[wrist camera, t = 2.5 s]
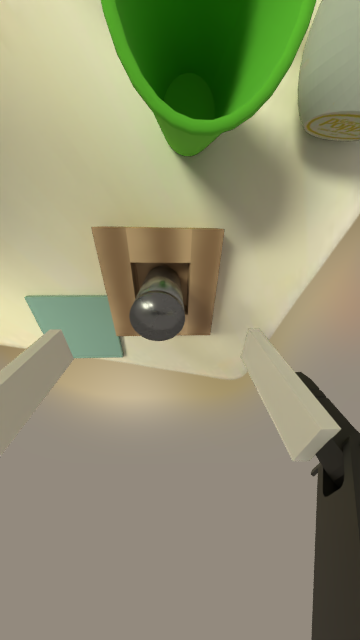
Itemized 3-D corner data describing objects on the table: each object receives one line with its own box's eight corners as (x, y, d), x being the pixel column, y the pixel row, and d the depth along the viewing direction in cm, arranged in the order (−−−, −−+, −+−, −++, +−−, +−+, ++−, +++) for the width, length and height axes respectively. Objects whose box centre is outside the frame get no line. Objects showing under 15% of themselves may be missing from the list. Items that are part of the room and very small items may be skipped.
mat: (57, 356, 30) (55, 358, 29) (27, 295, 24) (24, 297, 23) (123, 354, 30) (122, 357, 30) (110, 295, 24) (109, 297, 24)
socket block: (122, 323, 27) (116, 336, 24) (103, 226, 20) (91, 227, 17) (205, 322, 27) (210, 334, 24) (216, 228, 20) (224, 229, 17)
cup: (120, 111, 15) (33, -78, 6) (196, -5, 12) (279, -766, 3) (182, 201, 19) (192, 180, 9) (252, 128, 16) (367, -8, 7)
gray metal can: (147, 299, 24) (133, 341, 16) (143, 265, 22) (125, 292, 13) (180, 299, 25) (184, 340, 16) (180, 265, 22) (186, 292, 13)
